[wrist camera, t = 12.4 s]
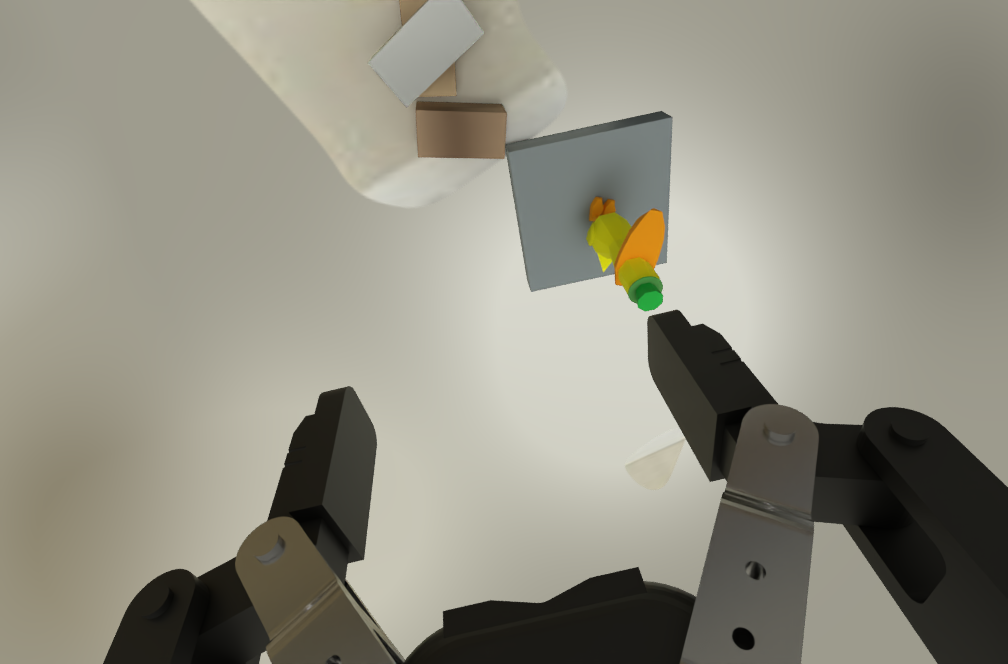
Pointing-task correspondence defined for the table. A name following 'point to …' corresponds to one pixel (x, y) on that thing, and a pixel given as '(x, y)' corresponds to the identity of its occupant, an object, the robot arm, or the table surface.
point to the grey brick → (425, 47)
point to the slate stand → (586, 191)
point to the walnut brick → (460, 130)
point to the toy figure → (629, 250)
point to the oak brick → (446, 81)
